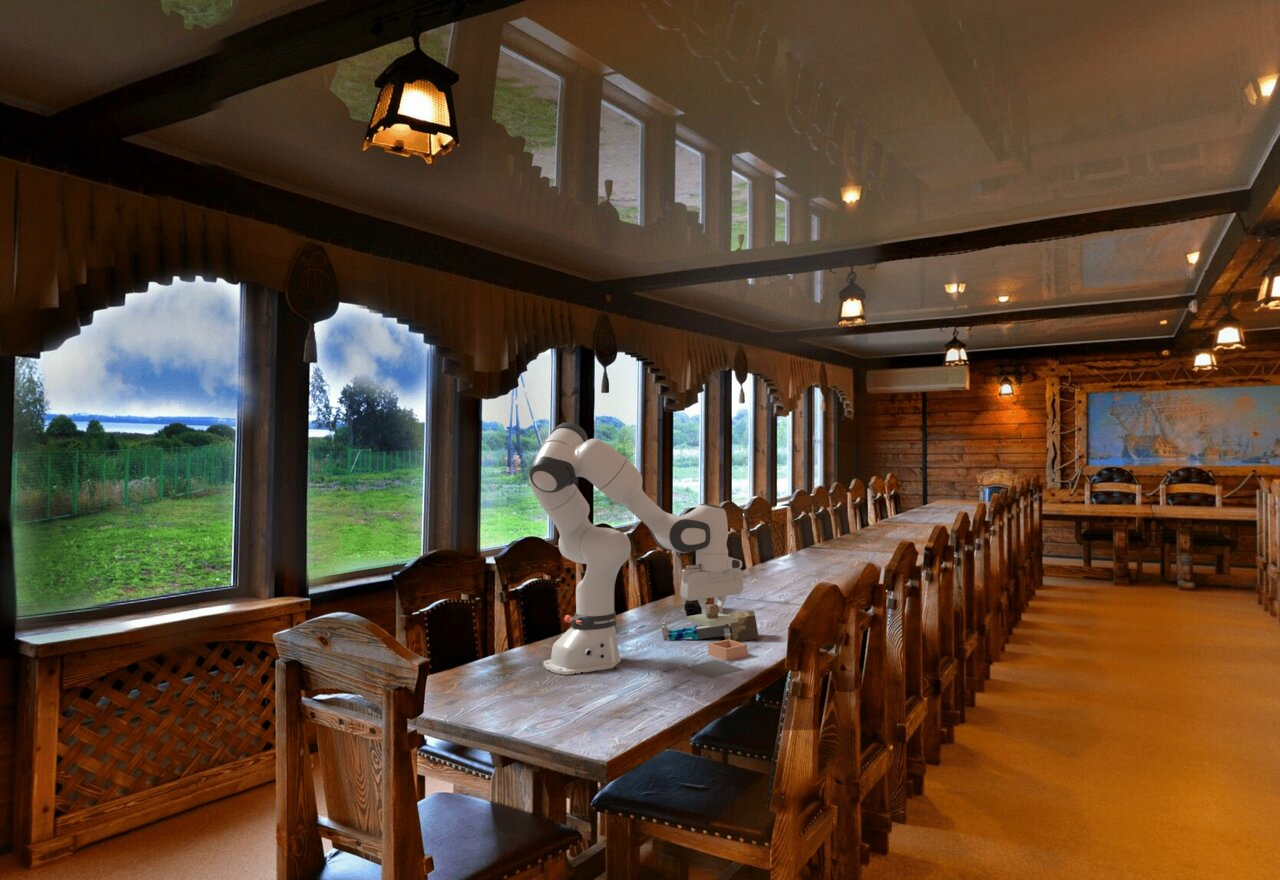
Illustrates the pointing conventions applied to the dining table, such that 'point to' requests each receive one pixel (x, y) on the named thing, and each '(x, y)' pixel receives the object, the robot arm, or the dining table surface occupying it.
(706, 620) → the lid
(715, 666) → the mat
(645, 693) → the dining table surface
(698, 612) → the tool
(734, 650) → the orange square open box
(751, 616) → the toy
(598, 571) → the robot arm
